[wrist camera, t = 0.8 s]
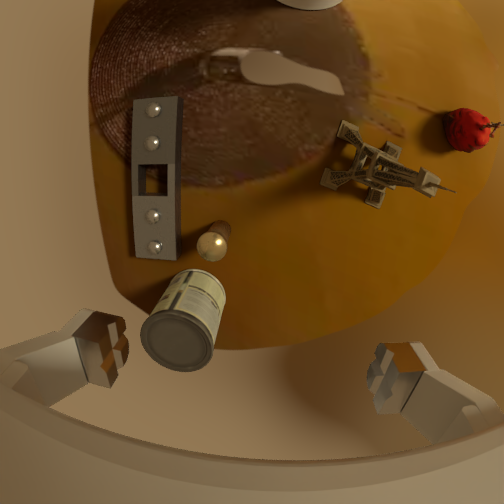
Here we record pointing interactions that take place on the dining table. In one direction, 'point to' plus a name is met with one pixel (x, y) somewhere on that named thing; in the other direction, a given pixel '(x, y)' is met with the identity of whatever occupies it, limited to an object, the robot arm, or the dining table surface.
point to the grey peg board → (168, 152)
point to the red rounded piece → (468, 129)
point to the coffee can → (185, 322)
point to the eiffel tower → (375, 178)
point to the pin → (214, 241)
